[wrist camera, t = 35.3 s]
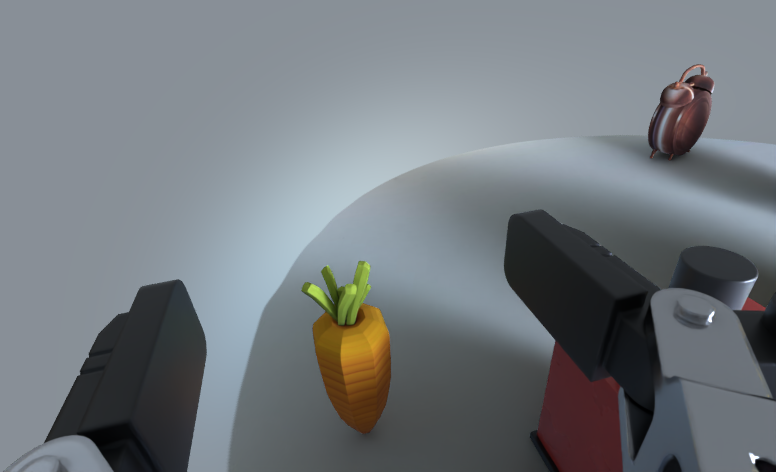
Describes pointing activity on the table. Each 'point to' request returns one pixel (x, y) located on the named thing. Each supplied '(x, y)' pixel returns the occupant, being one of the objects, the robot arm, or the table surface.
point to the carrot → (352, 349)
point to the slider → (715, 274)
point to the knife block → (582, 418)
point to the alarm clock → (681, 114)
